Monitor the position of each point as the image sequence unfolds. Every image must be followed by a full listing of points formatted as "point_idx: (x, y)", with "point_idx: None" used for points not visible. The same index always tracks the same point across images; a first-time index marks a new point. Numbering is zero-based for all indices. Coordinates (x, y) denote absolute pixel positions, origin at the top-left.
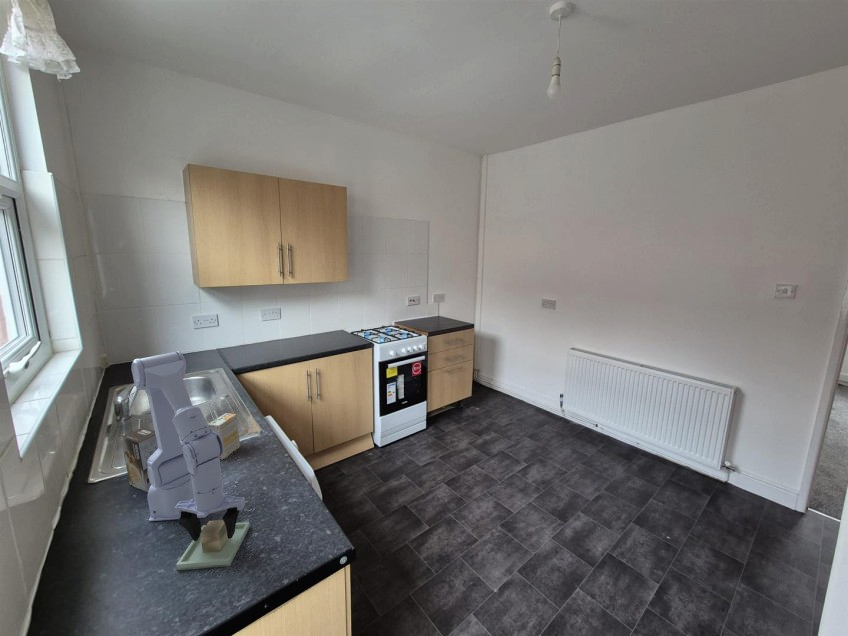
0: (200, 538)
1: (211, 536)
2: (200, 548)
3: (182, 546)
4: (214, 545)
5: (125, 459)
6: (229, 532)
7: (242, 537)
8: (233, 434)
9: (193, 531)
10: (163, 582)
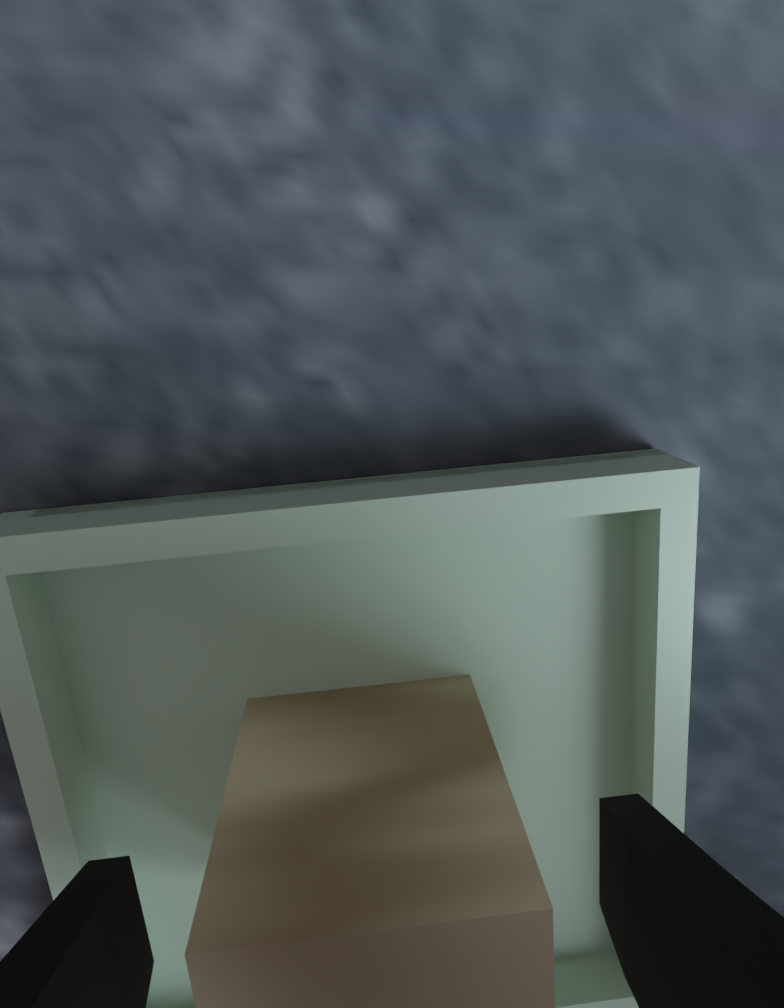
0: None
1: (336, 873)
2: (534, 729)
3: (767, 755)
4: (312, 750)
5: None
6: (6, 967)
7: None
8: None
9: (715, 956)
10: (728, 281)
